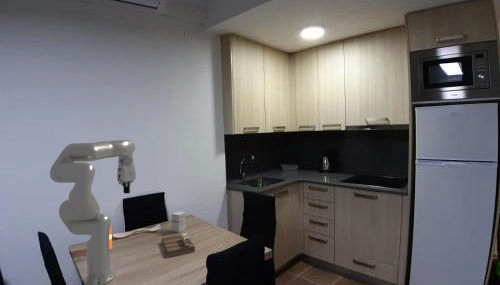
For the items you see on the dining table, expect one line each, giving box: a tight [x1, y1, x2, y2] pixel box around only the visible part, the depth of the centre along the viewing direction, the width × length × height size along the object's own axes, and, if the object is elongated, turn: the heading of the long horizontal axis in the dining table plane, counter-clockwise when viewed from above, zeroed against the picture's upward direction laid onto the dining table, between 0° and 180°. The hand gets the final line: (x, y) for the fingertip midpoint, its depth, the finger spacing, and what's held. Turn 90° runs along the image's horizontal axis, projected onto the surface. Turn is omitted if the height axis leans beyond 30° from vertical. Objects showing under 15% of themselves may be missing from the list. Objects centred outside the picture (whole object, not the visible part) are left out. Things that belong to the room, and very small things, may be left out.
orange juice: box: [109, 226, 113, 250], centre depth 163 cm, size 8×9×20 cm
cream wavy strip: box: [112, 223, 163, 239], centre depth 187 cm, size 9×32×4 cm, turn 119°
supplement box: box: [171, 211, 187, 234], centre depth 192 cm, size 7×7×13 cm
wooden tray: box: [161, 232, 196, 258], centre depth 164 cm, size 24×15×6 cm, turn 27°
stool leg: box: [180, 232, 192, 246], centre depth 162 cm, size 13×3×4 cm, turn 25°
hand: (126, 193), depth 156 cm, fingers closed
